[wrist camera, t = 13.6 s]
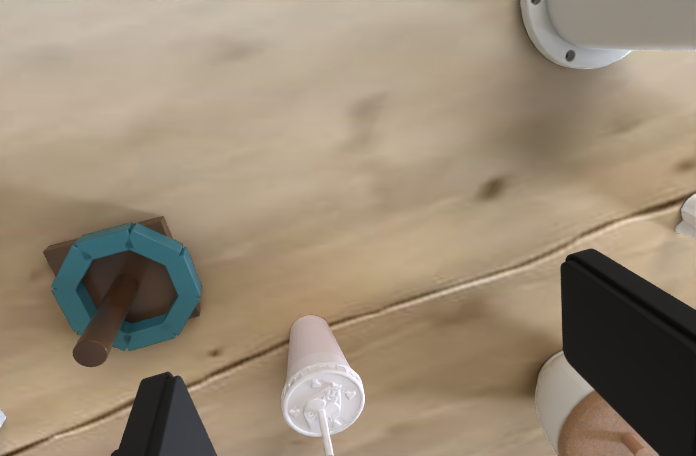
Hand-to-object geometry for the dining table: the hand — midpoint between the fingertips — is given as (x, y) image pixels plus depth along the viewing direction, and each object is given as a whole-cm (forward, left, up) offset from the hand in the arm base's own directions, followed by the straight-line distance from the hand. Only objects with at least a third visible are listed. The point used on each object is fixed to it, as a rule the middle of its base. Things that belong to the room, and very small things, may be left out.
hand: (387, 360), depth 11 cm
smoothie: (+3, +18, -28) cm, 34 cm away
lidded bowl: (-23, +33, -28) cm, 49 cm away
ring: (+15, +8, -27) cm, 32 cm away
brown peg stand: (+16, +8, -28) cm, 33 cm away
